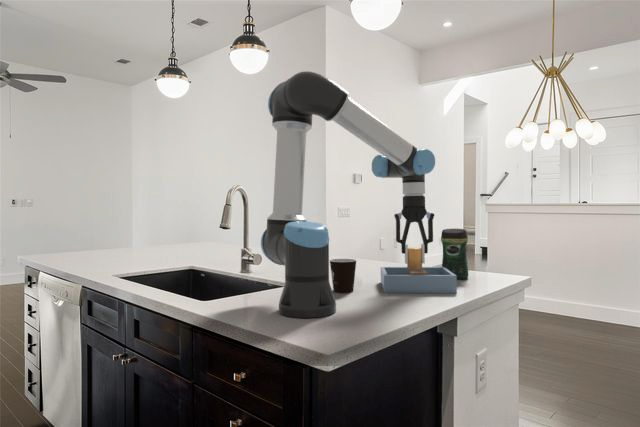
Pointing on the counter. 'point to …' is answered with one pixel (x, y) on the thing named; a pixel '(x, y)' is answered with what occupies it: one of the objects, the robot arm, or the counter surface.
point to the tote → (418, 280)
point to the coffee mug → (343, 275)
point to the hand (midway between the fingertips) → (414, 262)
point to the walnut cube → (417, 272)
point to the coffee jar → (455, 251)
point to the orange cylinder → (414, 259)
